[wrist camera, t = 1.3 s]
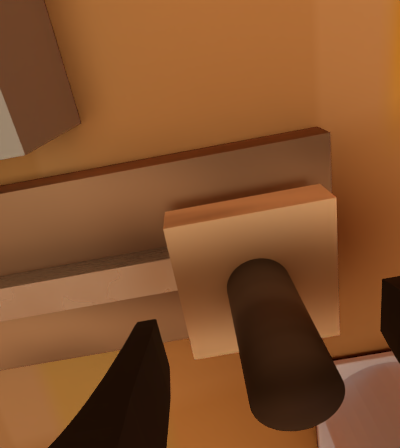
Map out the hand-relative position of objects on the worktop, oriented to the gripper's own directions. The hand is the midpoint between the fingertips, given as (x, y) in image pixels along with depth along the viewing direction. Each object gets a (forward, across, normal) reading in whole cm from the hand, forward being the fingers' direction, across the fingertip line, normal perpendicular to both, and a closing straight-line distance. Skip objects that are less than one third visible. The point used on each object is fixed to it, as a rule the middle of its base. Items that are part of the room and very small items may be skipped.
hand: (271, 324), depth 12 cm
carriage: (+5, 0, 0) cm, 5 cm away
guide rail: (+5, +7, 0) cm, 9 cm away
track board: (+7, +7, 0) cm, 10 cm away
